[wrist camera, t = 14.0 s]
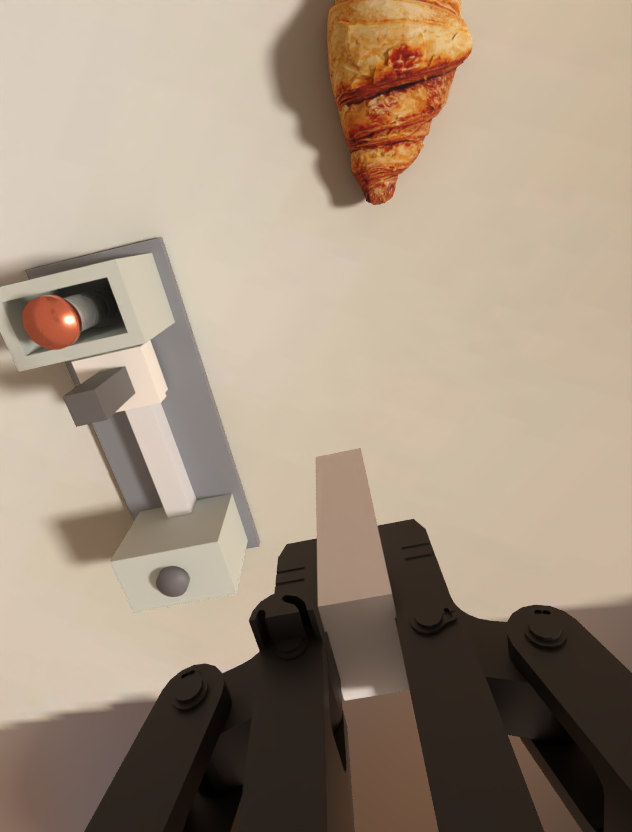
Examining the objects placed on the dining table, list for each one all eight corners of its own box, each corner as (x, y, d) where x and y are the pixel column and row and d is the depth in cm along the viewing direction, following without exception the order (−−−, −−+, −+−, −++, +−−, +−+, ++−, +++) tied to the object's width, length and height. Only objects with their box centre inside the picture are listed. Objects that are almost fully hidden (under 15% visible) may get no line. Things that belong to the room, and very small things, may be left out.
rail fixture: (30, 269, 41) (-48, 281, 32) (162, 237, 40) (119, 241, 31) (155, 561, 53) (124, 629, 44) (259, 541, 52) (249, 607, 43)
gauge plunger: (74, 287, 40) (12, 303, 32) (115, 277, 39) (63, 291, 31) (91, 328, 41) (36, 354, 33) (130, 319, 41) (85, 343, 33)
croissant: (363, -107, 35) (312, -192, 28) (507, -145, 31) (487, -256, 24) (341, 206, 42) (297, 198, 36) (454, 210, 38) (428, 201, 32)
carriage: (91, 350, 43) (31, 384, 34) (154, 336, 42) (111, 366, 33) (112, 401, 44) (60, 447, 35) (173, 388, 44) (136, 430, 35)
